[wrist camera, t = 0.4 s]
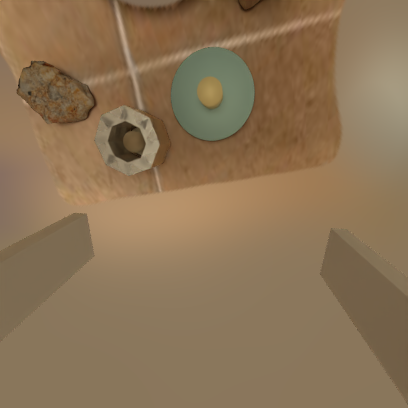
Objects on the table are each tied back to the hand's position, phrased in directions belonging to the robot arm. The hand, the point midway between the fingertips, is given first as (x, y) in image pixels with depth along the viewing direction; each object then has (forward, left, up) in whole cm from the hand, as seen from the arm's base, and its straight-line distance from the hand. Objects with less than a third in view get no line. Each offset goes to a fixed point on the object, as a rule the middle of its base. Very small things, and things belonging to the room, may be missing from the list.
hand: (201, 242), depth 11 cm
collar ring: (-9, -11, -25) cm, 28 cm away
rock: (-20, -20, -25) cm, 38 cm away
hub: (-11, +2, -25) cm, 27 cm away
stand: (-9, -11, -25) cm, 28 cm away
